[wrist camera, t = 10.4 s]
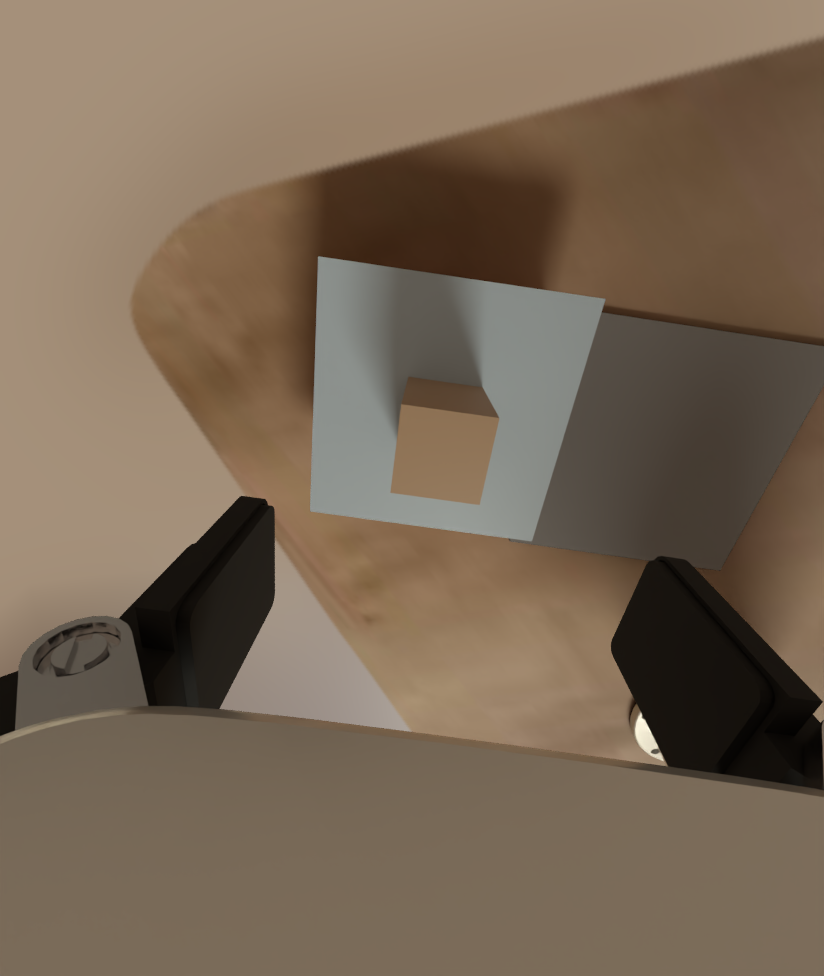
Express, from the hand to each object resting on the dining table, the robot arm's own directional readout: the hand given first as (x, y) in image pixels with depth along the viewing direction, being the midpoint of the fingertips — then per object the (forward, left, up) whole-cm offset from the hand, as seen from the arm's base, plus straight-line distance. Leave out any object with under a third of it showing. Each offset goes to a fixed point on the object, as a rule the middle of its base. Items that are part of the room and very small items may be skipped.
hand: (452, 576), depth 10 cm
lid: (0, 0, -15) cm, 15 cm away
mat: (-16, +2, -20) cm, 26 cm away
